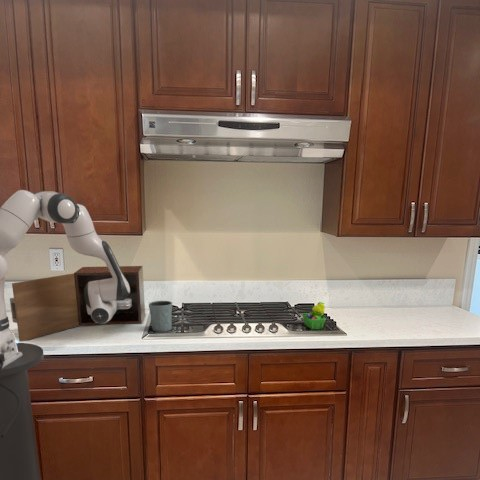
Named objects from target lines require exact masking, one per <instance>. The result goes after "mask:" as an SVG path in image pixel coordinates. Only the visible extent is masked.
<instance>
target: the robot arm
mask: <svg viewBox="0 0 480 480" xmlns="http://www.w3.org/2000/svg"><path fill="white" fill-rule="evenodd" d="M36 220H41V221H46V222H49V223H55V224H56V223H57V224H61V225H62V226H63V228H64V231H65V236H66V239H67V241H68V243H69V246H70V248H71V249H72V250H73V251H75V252H76V253H77V254H80V255H83V256H88V257H92V258H93V257H94V258H97V259H100V260H102V261H103V262H104V263H105V265H106V267H108V269H109V271H110V273H111V275H112V277H113V278H109V279H103V280H96V281H90V282H88V283H87V284H86V286H85V289H84V298H85V302H86V307H87V313H88V314H89V315H91V317H92V319H93V321H95V322H96V323H99V324H104V323H107V322H108V321H110V320H111V318H112V317H113V315H114V314H115V312H116V310H117V309H129V308H130V307H131V306H132V299H130V298H127V297H128V296H129V294H130V286H129V283H128V282H127V280H126V278H125V276H124V275H123V273H122V271H121V269H120V267H119V266H120V265H119V262H118V260H117V257H115V254H114V252H113V250H112V248H111V246H110V245H109V244H108V242H107V241H105V240H102V239H101V237H100V236H99V235H98V233H97V231H96V229H95V225H94V222H93V220H92V217H91V215H90V213H89V211H88V209H87V207H86V206H84V205H83V204H81V203H76V201H75V200H74V199H73V198H72V197H71V196H70V195H68V194H65V193H62V192H56V191H52V190H49V191H47V190H39V191H37V192H31V191H29V190H26V189H19V190H16V192H14V193H13V194H12V195H11V196H10V197H9V198H7V200H6V201H4V203H2V205H1V207H0V370H1V369H2V368H3V367H5V366H6V365H8V364H10V363H11V362H13V361H14V360H16V359H18V358H19V357H21V356H22V352H19V351H18V349H17V344H16V343H19V340H16V335H15V333H14V332H13V331H12V330H11V328H10V320H9V316H7V309H6V302H5V287H6V286H5V285H6V275H7V274H8V270H9V265H8V262H7V260H6V258H5V256H6V255H7V254H8V253H9V252H10V251H12V250H13V249H15V248H16V247H17V246H18V245H19V243H20V242H21V241H22V239H23V238H24V236H25V235H26V234H27V232H29V229H30V228H31V227H32V225H33V224H34V222H35V221H36ZM0 386H1V387H3V388H5V389H6V390H8V391H10V392H11V393H12V394H13V395H14V396H15V397H16V399H17V402H18V405H17V410H16V412H15V414H14V415H13V417H12V419H11V421H10V422H9V424H8V425H7V427H6V428H5V430H4V431H3V433H2V434H1V437H2V438H3V437H4V436H5V434H6V433H7V431H8V430H9V428H10V427H11V425H12V423H13V421H14V420H15V418H16V416H17V414H18V412H19V410H20V405H21V402H20V398H19V396H18V395H17V394H16V393H15V392H14V391H13V390H11V389H10V388H8V387H7V386H5V385H2V384H0Z"/></svg>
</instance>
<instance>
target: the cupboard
mask: <svg viewBox="0 0 480 480" xmlns="http://www.w3.org/2000/svg"><path fill="white" fill-rule="evenodd" d="M119 267H120V269H121V271H122V273H123V275H124V276H125V278H126V280H127V282H128V283H129V286H130V294H129V296H128V297H127V298H130V299H132V306H131V307H130V308H129V309H120V312H119V313H115V314H114V315H113V317H112V318H111V320H110V321H108V322H107V323H104V324H99V323H96V322H95V321H93V319H92V317H91V315H89V314H88V313H87V307H86V302H85V298H84V289H85V286H86V284H87V283H88V282H90V281H96V280H103V279H109V278H113V277H112V275H111V273H110V271H109V269H108V267H107V266H81V267H80V268H79V269H78V270H76V271H75V272H74V273H73V274H74V278H75V289H76V299H77V310H78V321H79V326H78V327H80V326H110V325H111V326H113V325H114V326H115V325H116V326H117V325H142V324H143V321H144V318H145V316H146V305H145V304H146V303H145V288H144V287H145V286H144V269H143V265H119Z"/></svg>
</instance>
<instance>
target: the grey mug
mask: <svg viewBox="0 0 480 480" xmlns="http://www.w3.org/2000/svg"><path fill="white" fill-rule="evenodd" d="M148 308H149V314H150V322H151V330H152V332H156V333H157V332H158V333H166V332H170V331H171V330H172V329H173V322H172V320H173V314H172V313H173V302H172V301H170V300H155V301H151V302H149V303H148Z"/></svg>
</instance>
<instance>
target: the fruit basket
mask: <svg viewBox="0 0 480 480" xmlns="http://www.w3.org/2000/svg"><path fill="white" fill-rule="evenodd" d="M325 308H326V306H325V302H322V301H319V302H317V304H315V305H314V306H313V307H312V308H311V310H312V312H311V311H310V312H305V313H301V316H302V319H303V320H302V321H303V324H304V326H306V328H308V329H310V330H313V331H314V330H322V329H323V328H324V325H325V322H326V320H327V318H326V317H325V316H323V315H324V313H325Z"/></svg>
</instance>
